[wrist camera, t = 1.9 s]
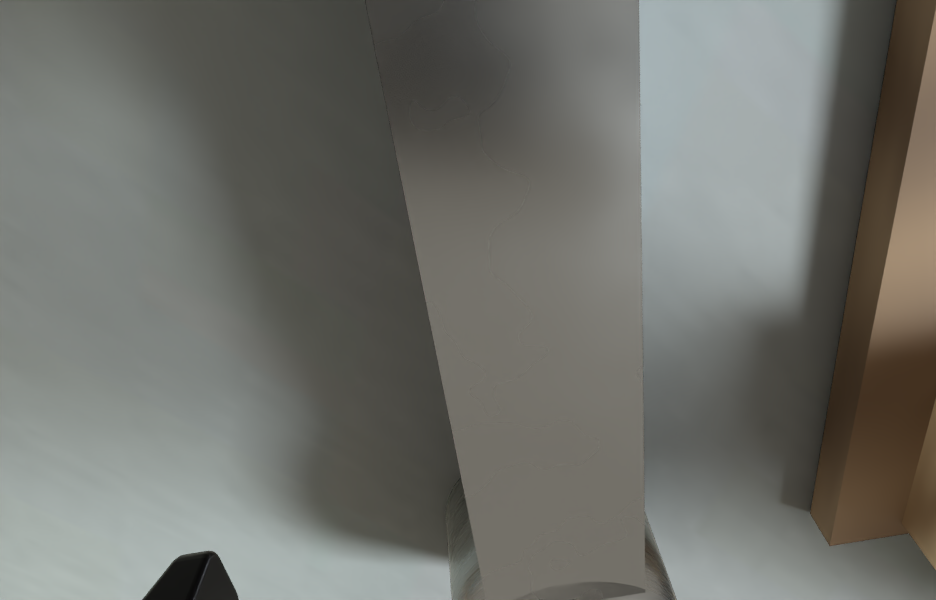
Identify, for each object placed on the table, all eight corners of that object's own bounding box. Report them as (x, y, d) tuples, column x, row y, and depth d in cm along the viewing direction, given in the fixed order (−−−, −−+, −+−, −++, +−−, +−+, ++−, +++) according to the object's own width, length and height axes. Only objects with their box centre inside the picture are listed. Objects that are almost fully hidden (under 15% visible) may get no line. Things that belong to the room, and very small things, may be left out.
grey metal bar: (637, 555, 23) (685, 700, 19) (460, 583, 23) (473, 733, 19) (611, -798, 9) (767, -1246, 5) (162, -722, 9) (-4, -1112, 5)
